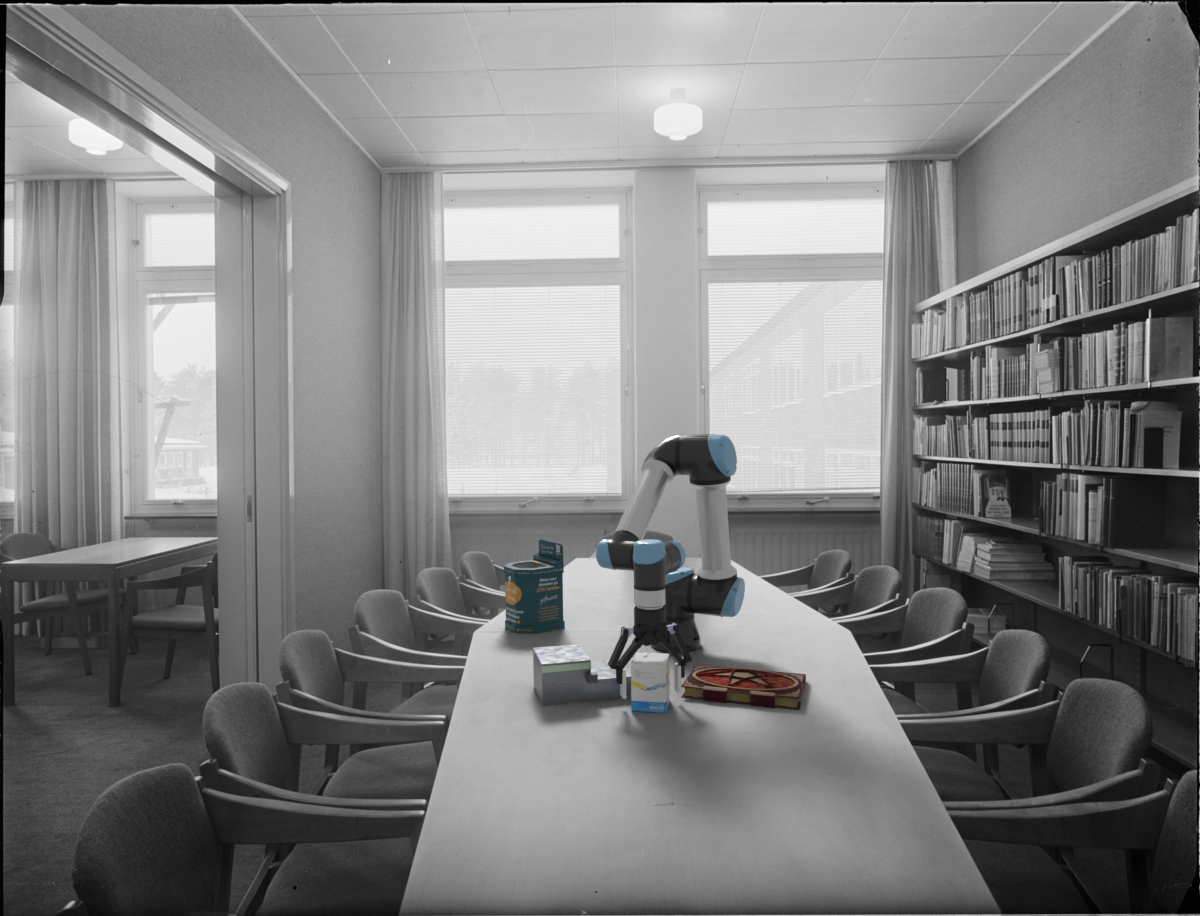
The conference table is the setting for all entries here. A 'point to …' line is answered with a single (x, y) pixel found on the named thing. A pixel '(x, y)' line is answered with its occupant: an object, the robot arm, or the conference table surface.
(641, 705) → the ink box
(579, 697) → the stepped stand
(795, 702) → the book
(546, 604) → the donation box
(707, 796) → the conference table surface
